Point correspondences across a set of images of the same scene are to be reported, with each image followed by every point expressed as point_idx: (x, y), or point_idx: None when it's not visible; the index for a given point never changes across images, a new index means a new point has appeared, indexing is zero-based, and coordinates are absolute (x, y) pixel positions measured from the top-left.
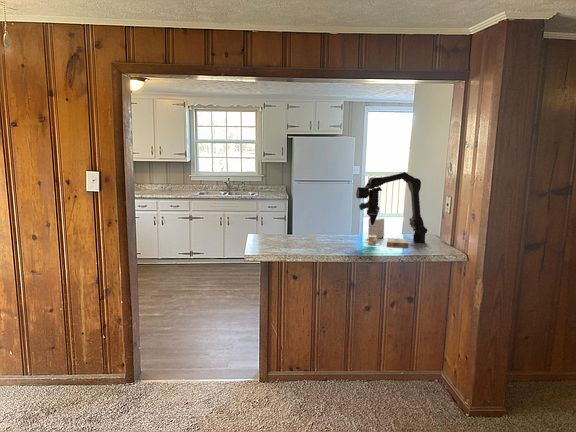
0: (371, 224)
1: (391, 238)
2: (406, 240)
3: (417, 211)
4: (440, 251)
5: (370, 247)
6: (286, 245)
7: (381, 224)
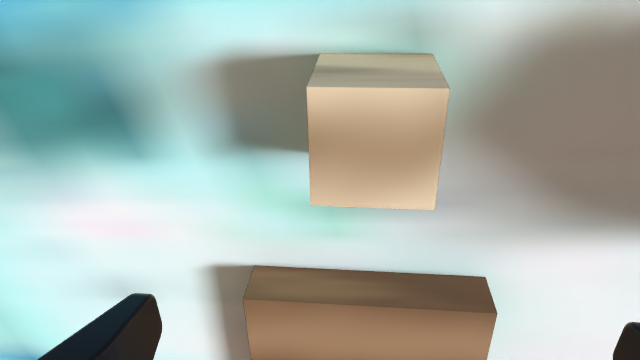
0: (124, 305)
1: (476, 346)
2: None
3: None
4: None
5: (105, 101)
6: None
7: None
